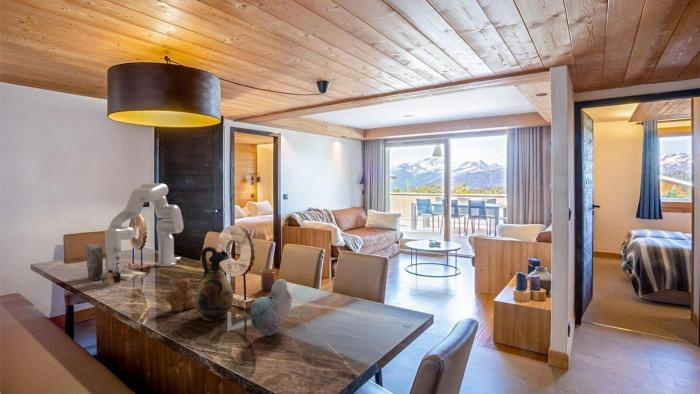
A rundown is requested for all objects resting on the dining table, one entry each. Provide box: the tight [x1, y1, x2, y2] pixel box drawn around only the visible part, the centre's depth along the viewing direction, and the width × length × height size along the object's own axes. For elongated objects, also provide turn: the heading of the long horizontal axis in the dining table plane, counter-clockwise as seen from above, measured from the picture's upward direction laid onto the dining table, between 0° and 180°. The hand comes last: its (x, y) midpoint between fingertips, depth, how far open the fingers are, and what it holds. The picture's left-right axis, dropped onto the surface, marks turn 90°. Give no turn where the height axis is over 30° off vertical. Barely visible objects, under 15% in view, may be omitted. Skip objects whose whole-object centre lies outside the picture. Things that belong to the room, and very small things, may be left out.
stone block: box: [85, 243, 104, 282], centre depth 214 cm, size 13×7×20 cm, turn 54°
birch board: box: [113, 268, 147, 281], centre depth 221 cm, size 11×22×2 cm, turn 57°
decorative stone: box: [250, 278, 293, 337], centre depth 136 cm, size 21×9×20 cm, turn 151°
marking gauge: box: [100, 271, 121, 285], centre depth 204 cm, size 9×4×6 cm, turn 147°
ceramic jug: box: [194, 245, 234, 322], centre depth 154 cm, size 17×15×30 cm
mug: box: [259, 268, 277, 292], centre depth 194 cm, size 12×9×10 cm
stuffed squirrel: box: [164, 278, 196, 313], centre depth 163 cm, size 10×14×13 cm
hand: (113, 280), depth 206 cm, fingers open, 7 cm apart
